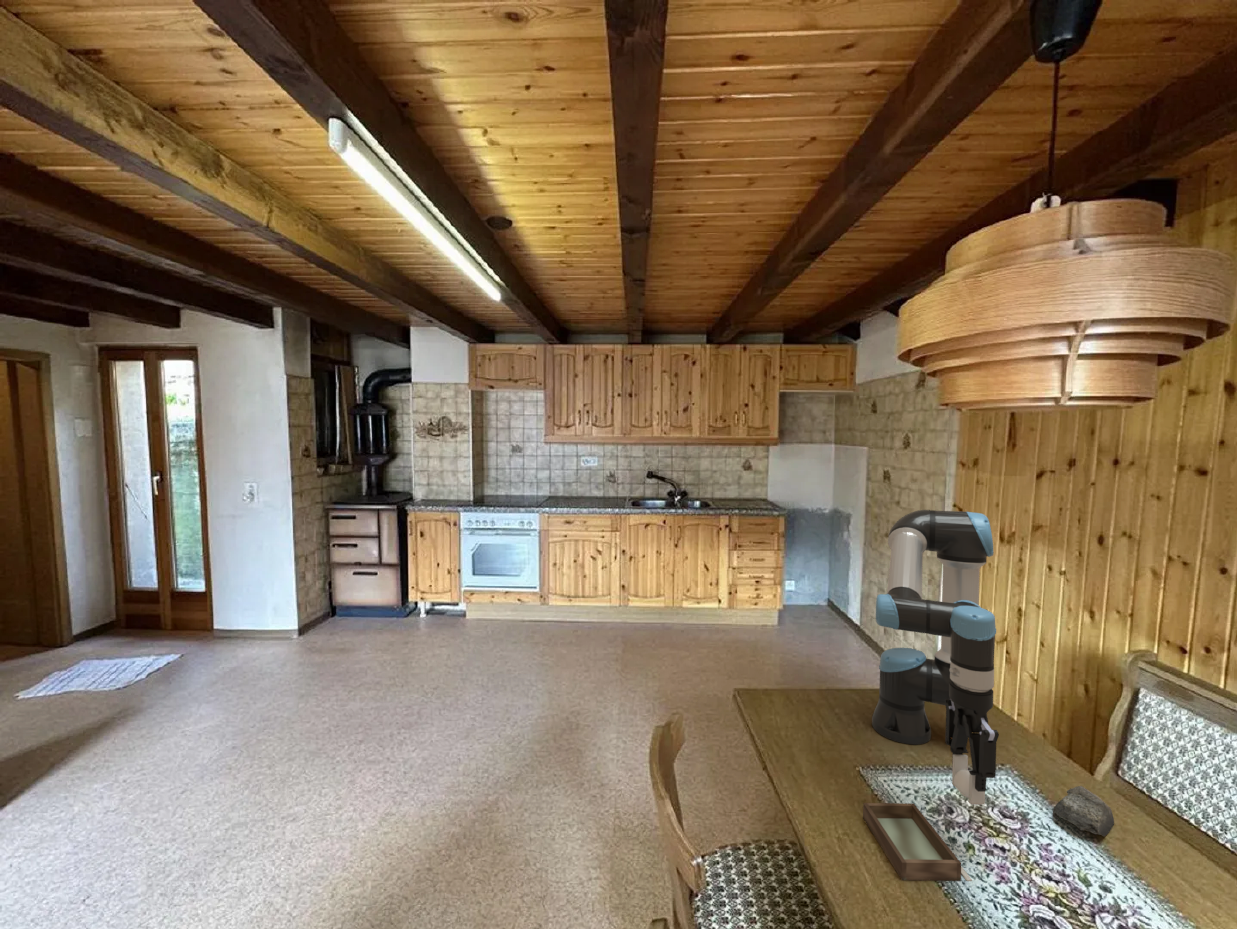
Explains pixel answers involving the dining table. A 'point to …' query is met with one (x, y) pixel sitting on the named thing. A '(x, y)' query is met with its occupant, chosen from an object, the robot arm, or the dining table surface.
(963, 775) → the cream egg
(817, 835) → the dining table surface
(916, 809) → the brown wooden tray
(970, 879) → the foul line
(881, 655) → the robot arm
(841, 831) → the dining table surface
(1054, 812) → the rock
